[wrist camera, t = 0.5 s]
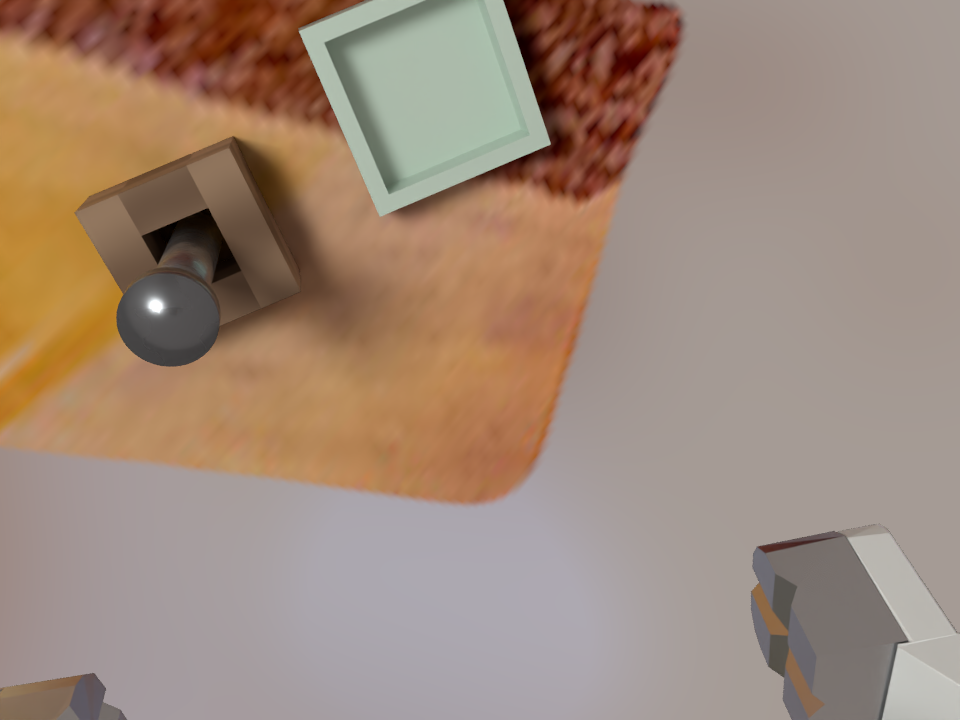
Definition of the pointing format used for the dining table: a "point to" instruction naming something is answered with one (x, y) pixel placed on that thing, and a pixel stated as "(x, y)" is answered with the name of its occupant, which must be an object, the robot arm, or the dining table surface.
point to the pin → (175, 298)
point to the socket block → (180, 193)
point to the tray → (425, 92)
